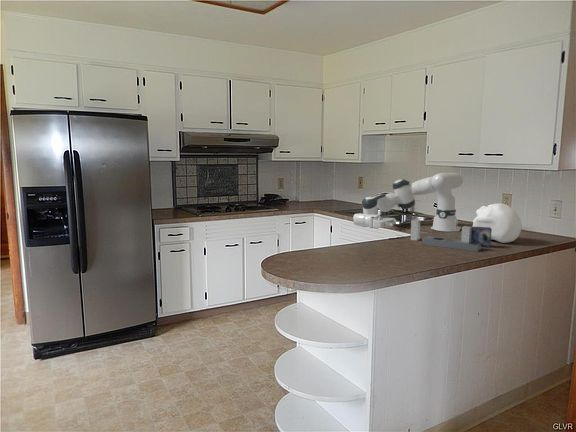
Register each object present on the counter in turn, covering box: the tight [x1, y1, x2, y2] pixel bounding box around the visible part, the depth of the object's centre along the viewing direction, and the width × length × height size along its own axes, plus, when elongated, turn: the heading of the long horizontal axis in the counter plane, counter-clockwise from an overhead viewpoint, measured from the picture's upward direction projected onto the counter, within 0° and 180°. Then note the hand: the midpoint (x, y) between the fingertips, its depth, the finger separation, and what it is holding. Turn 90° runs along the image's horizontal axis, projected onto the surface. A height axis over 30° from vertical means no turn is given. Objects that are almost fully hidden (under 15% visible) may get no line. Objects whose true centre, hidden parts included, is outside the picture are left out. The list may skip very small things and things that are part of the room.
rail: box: [421, 225, 482, 252], centre depth 230 cm, size 7×30×12 cm, turn 51°
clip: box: [410, 219, 421, 241], centre depth 249 cm, size 4×4×12 cm
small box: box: [469, 225, 492, 248], centre depth 232 cm, size 11×6×10 cm, turn 73°
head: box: [472, 202, 522, 244], centre depth 247 cm, size 20×28×28 cm
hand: (396, 223), depth 256 cm, fingers open, 8 cm apart
